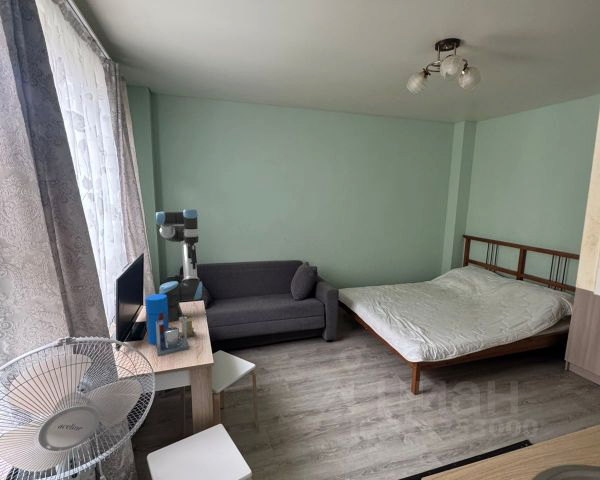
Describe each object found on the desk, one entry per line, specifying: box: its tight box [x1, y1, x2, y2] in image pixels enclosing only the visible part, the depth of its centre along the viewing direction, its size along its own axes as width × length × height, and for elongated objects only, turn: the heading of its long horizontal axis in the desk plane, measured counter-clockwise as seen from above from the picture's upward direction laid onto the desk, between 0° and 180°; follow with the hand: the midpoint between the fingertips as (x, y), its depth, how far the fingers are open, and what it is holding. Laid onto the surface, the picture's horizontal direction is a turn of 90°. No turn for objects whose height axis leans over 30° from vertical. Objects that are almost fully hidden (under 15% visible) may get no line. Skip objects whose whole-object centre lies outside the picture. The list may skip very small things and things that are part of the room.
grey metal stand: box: [155, 316, 190, 357], centre depth 160 cm, size 11×15×16 cm
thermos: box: [145, 293, 170, 346], centre depth 168 cm, size 11×11×25 cm
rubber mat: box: [179, 329, 196, 339], centre depth 176 cm, size 8×8×1 cm
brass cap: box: [179, 316, 195, 338], centre depth 175 cm, size 11×7×9 cm, turn 163°
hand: (192, 271), depth 179 cm, fingers open, 13 cm apart
